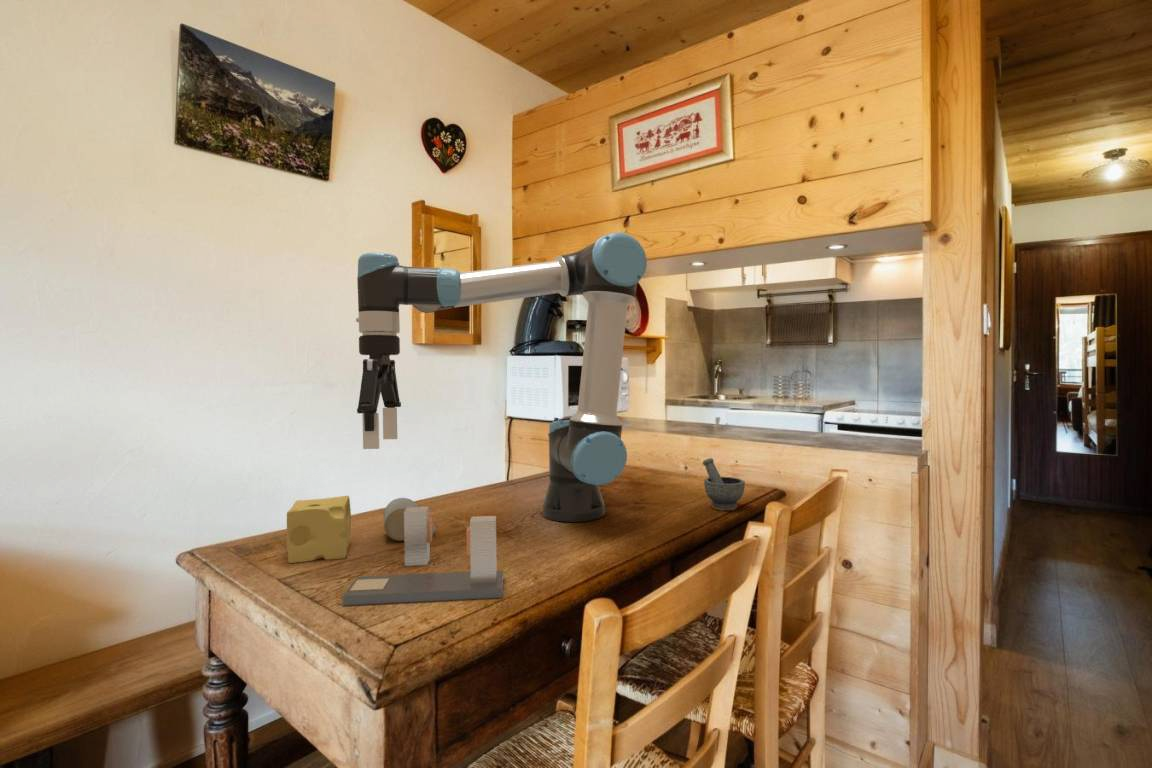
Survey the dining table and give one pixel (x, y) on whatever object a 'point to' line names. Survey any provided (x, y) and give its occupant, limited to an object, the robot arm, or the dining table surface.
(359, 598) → the rail
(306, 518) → the cheese
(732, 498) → the mortar and pestle
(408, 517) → the loose carton
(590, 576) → the dining table surface
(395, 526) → the ceramic mug
